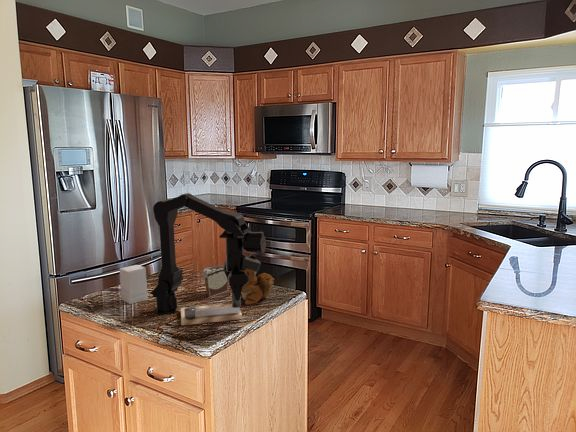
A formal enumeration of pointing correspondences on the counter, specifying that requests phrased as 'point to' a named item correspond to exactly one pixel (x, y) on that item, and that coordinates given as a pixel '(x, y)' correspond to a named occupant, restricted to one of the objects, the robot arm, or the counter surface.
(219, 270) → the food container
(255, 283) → the stuffed squirrel
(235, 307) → the lever
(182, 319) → the base board
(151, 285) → the counter surface
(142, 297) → the supplement box
